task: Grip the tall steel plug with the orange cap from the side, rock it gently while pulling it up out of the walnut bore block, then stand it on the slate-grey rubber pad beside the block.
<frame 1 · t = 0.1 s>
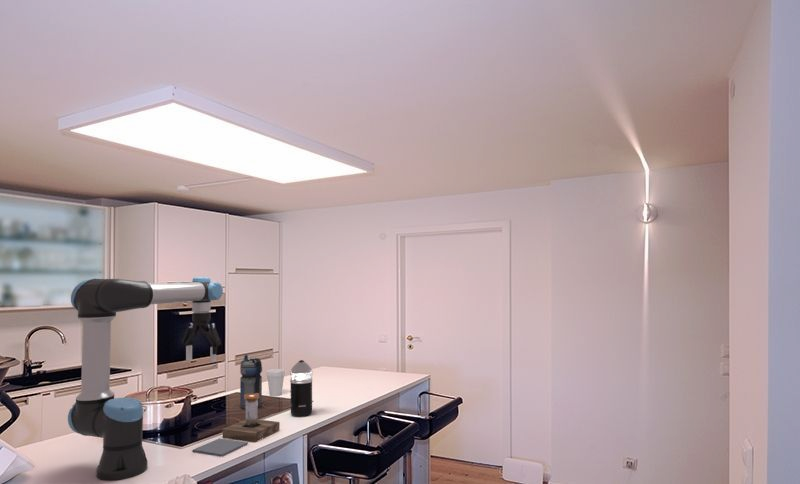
hand: (201, 361, 225), 28 cm above the worktop, tool pointing down, fingers open, 13 cm apart
foam cup: (275, 395, 279), on the worktop
beverage bottle: (252, 407, 253), on the worktop
steel plug: (251, 414, 212), in the bore block
black coffee grinder: (301, 414, 240), on the worktop
rubber pad: (220, 448, 195), on the worktop
bore block: (251, 434, 211), on the worktop
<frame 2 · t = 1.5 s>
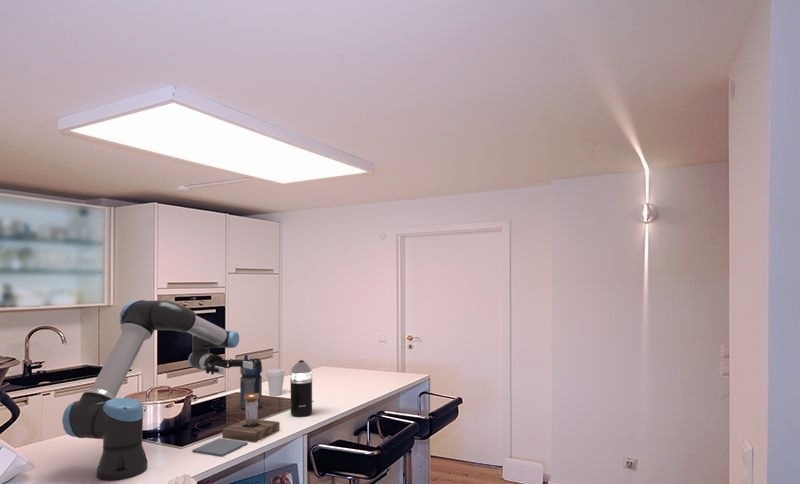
hand: (238, 368, 219), 26 cm above the worktop, tool horizontal, fingers open, 13 cm apart
nothing on the worktop moved.
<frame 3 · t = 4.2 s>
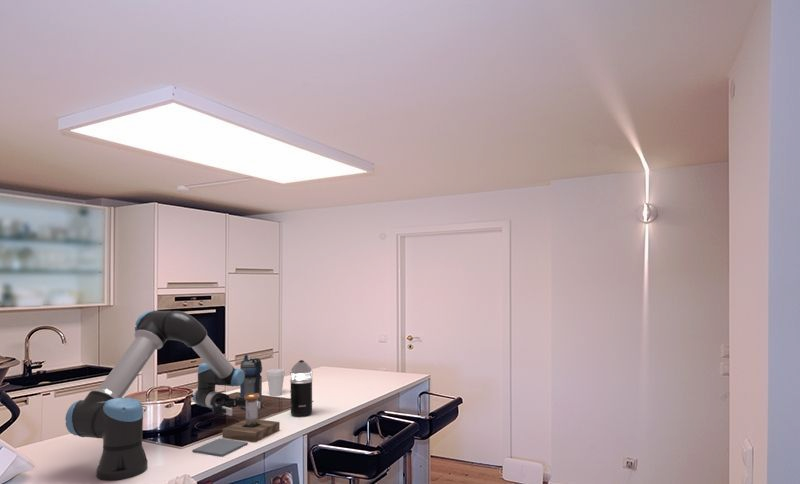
hand: (246, 408, 215), 9 cm above the worktop, tool horizontal, fingers open, 13 cm apart
nothing on the worktop moved.
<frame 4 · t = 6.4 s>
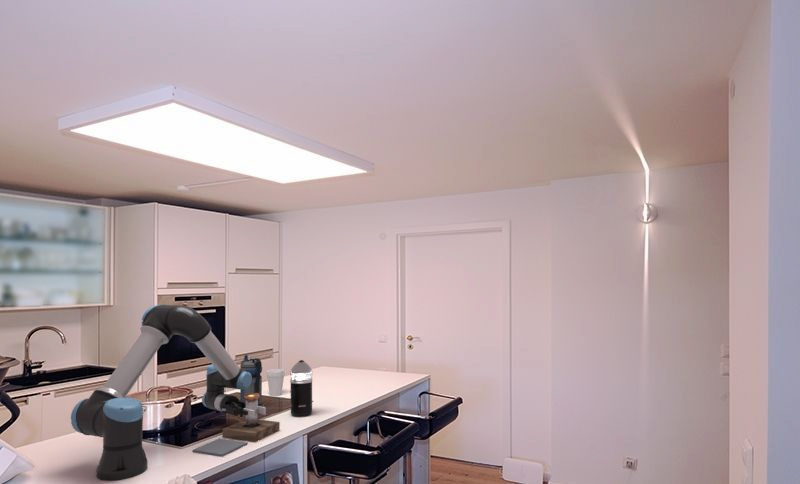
hand: (259, 412, 208), 10 cm above the worktop, tool horizontal, fingers closed on steel plug, 5 cm apart
steel plug: (251, 414, 212), in the bore block, touching gripper
everything else where it was.
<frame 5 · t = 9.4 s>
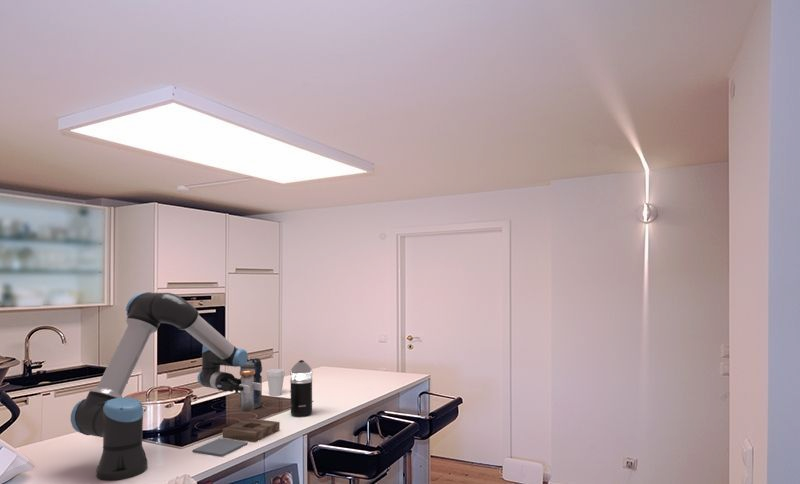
hand: (254, 388, 206), 20 cm above the worktop, tool horizontal, fingers closed on steel plug, 5 cm apart
steel plug: (247, 390, 210), point 18 cm above the worktop, touching gripper
everything else where it was.
when the fingers open (12 cm above the worktop, at t = 12.4 s): steel plug drops 2 cm, resting on rubber pad.
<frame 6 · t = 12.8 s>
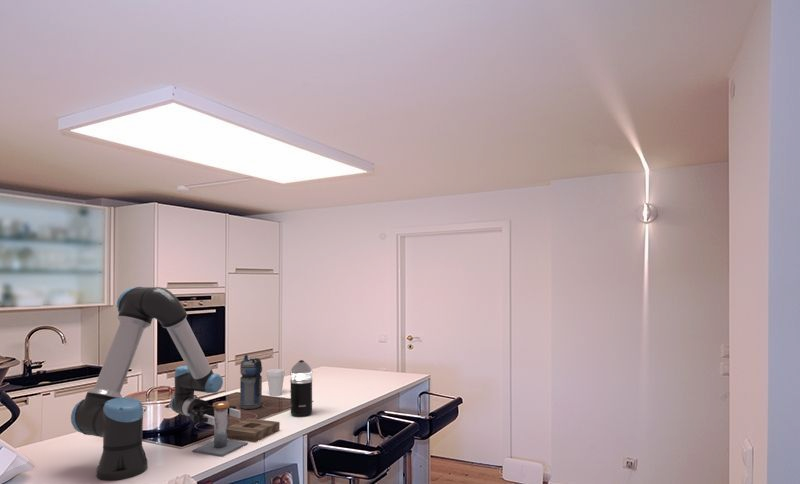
hand: (227, 417, 193), 12 cm above the worktop, tool horizontal, fingers open, 10 cm apart
steel plug: (220, 424, 195), on the rubber pad, point 9 cm above the worktop
everything else where it was.
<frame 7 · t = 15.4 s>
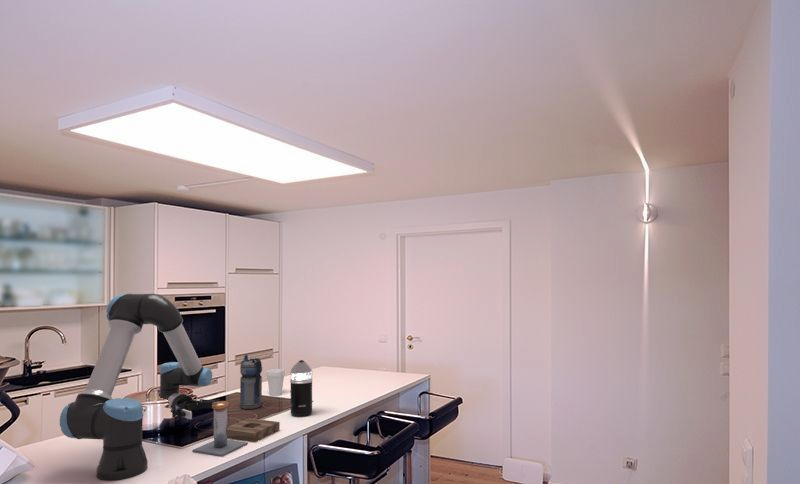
hand: (207, 411, 201), 12 cm above the worktop, tool horizontal, fingers open, 13 cm apart
nothing on the worktop moved.
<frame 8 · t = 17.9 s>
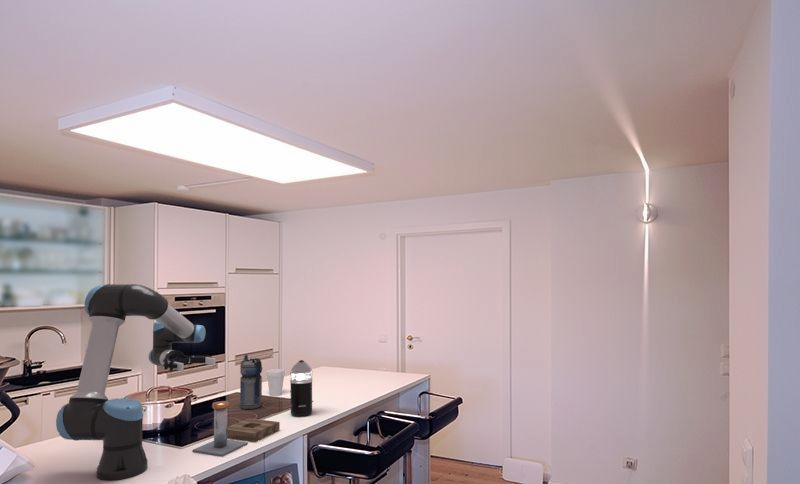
hand: (199, 364, 205), 30 cm above the worktop, tool horizontal, fingers open, 13 cm apart
nothing on the worktop moved.
at the end: steel plug inside the target area on the rubber pad (0.1 cm from its centre), point 8.8 cm above the rubber pad's base; steel plug tilted 0°; the gripper is holding nothing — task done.
